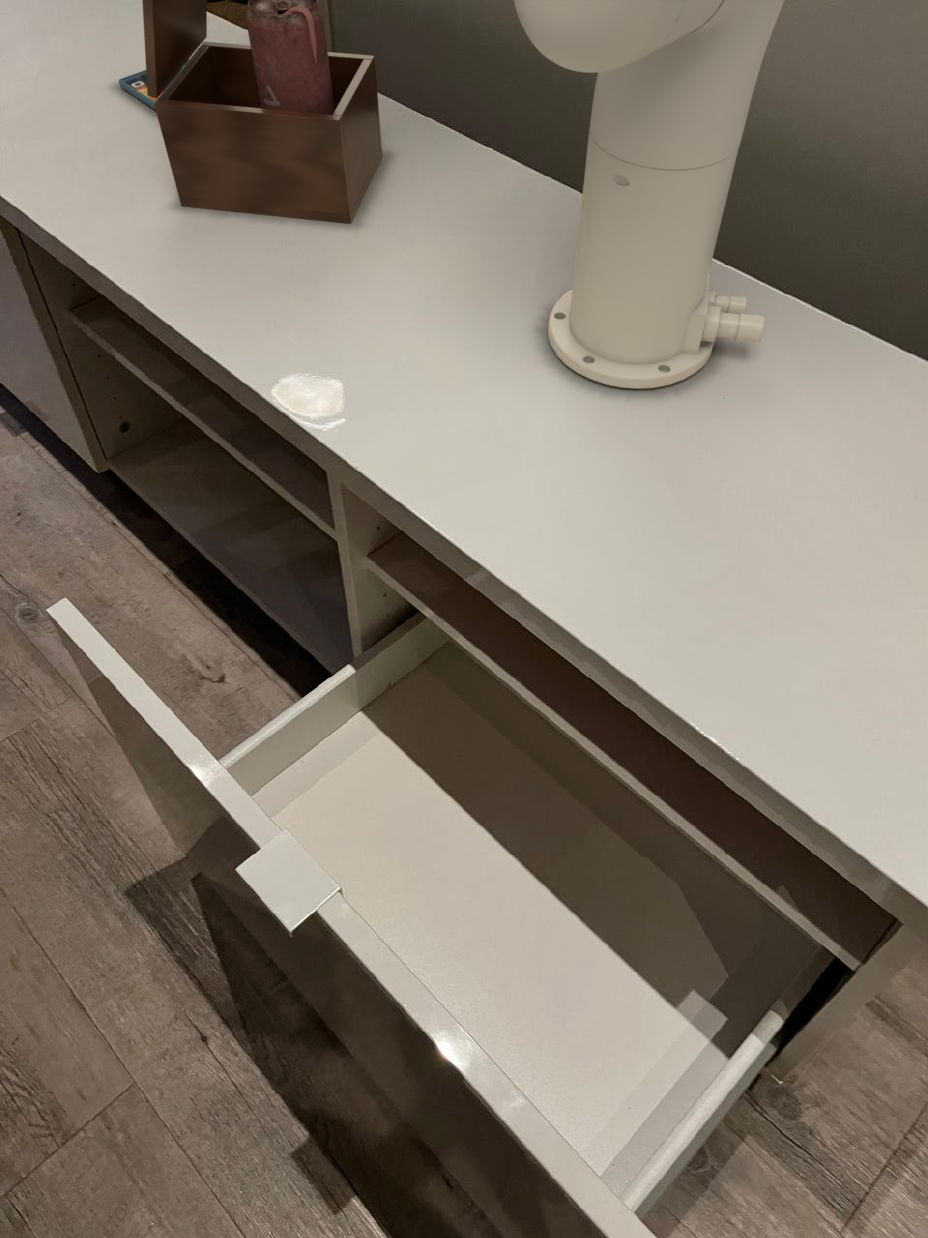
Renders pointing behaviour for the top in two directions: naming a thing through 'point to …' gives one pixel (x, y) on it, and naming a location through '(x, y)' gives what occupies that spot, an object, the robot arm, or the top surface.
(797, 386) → the top surface
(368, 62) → the chest
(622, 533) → the top surface
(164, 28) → the lid
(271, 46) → the can
